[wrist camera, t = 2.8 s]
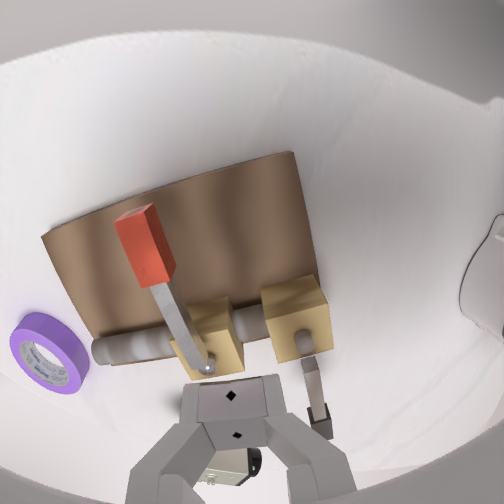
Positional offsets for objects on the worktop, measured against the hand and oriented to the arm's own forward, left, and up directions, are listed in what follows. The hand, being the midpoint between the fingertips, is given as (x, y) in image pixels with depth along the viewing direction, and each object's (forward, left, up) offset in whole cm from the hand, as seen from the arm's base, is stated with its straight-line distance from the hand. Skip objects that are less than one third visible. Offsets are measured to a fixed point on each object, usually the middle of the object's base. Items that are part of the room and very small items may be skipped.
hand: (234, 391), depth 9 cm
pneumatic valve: (+11, +26, -19) cm, 34 cm away
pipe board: (+6, +9, -19) cm, 22 cm away
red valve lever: (+5, +2, -12) cm, 13 cm away
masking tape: (+29, +10, -19) cm, 36 cm away
